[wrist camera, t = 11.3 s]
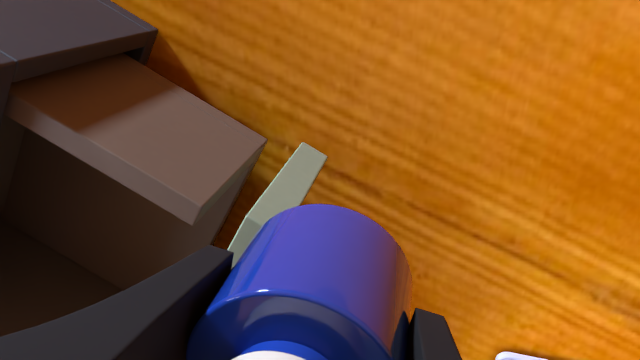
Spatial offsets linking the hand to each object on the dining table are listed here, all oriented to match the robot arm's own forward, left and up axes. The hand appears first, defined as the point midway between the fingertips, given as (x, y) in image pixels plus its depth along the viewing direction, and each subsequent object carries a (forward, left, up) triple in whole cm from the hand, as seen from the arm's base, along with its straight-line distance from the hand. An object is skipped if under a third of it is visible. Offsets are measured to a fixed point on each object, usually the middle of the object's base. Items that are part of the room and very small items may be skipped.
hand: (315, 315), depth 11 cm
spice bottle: (0, 0, -1) cm, 1 cm away
